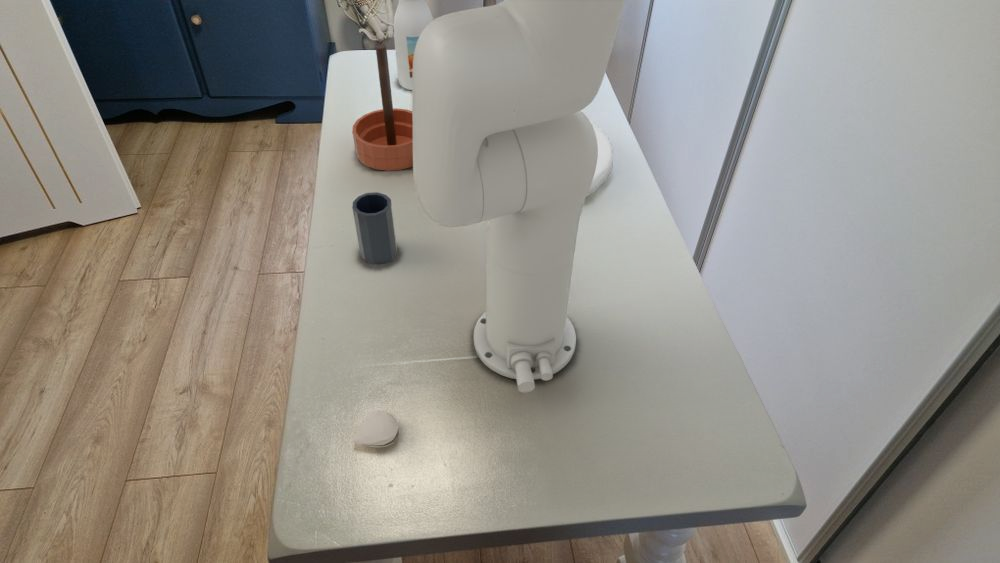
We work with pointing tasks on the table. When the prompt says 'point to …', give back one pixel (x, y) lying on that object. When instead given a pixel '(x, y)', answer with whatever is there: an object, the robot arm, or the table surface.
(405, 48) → the milk bottle
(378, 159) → the bowl
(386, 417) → the grey pebble
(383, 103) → the stick
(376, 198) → the pot
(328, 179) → the table surface
